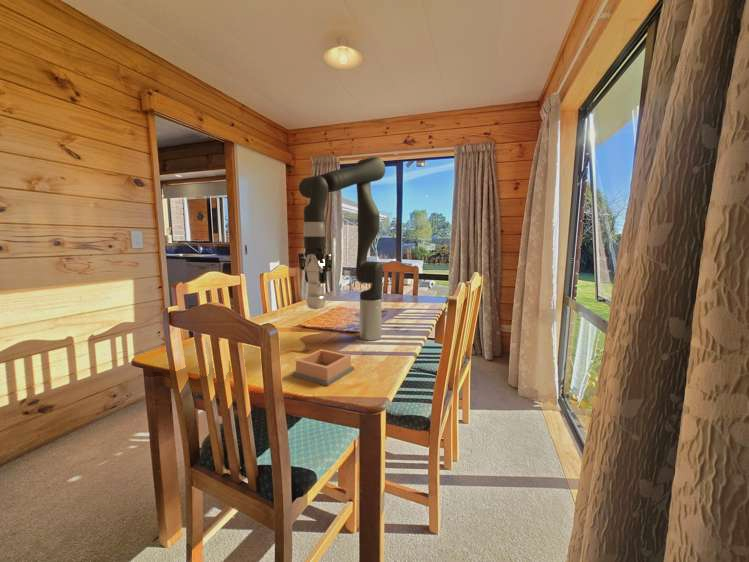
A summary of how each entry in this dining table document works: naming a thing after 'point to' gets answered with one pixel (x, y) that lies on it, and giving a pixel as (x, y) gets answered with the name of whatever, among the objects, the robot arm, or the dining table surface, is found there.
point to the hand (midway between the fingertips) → (315, 282)
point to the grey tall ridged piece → (314, 286)
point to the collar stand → (323, 367)
